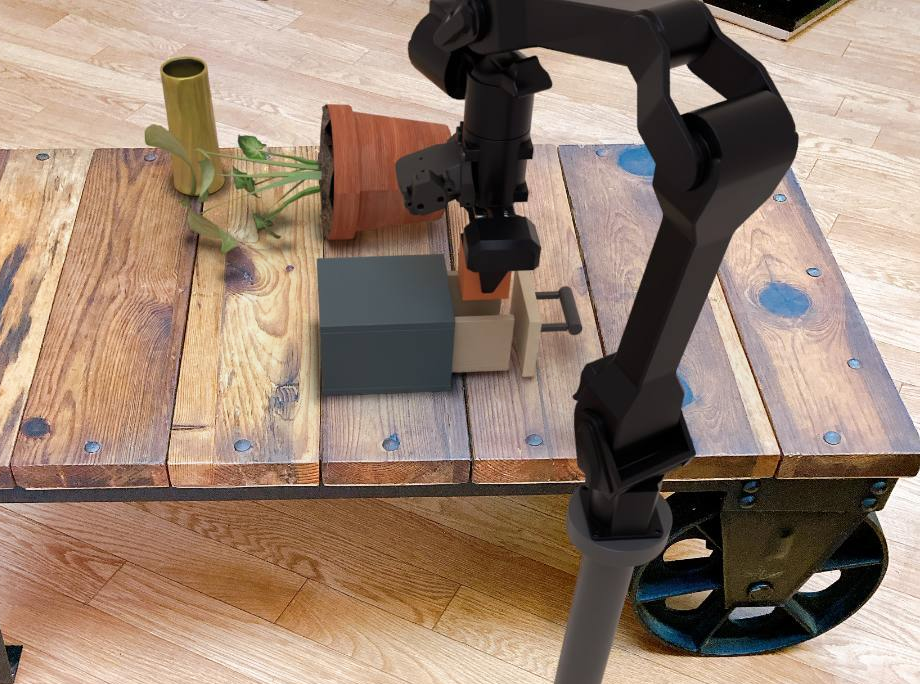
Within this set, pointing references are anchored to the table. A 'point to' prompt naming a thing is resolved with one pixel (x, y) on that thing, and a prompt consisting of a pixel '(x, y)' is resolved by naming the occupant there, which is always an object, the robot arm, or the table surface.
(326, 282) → the cabinet
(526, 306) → the drawer
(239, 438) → the table surface
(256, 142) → the potted plant
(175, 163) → the vase
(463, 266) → the block
